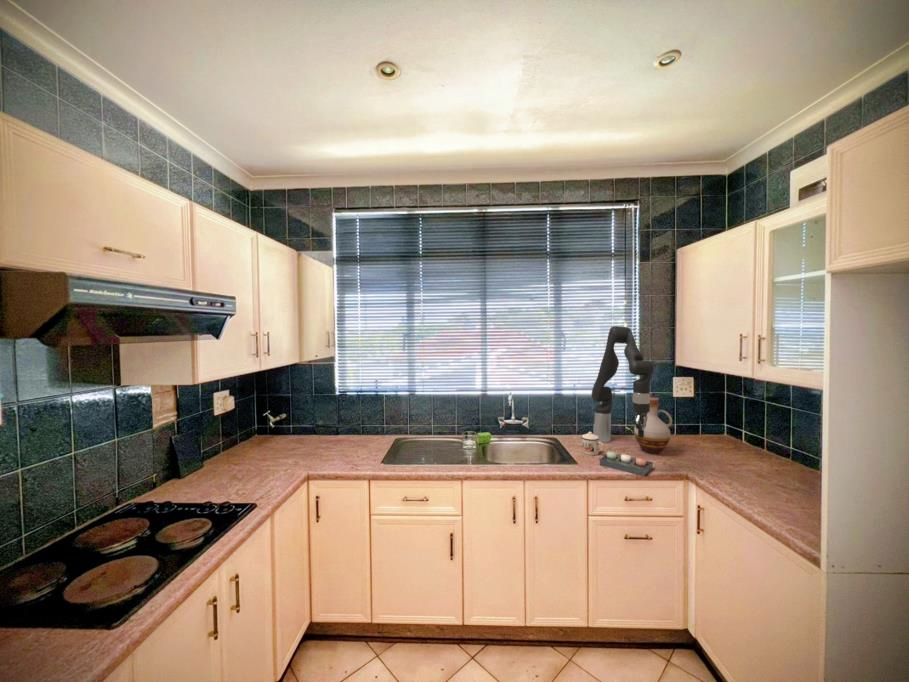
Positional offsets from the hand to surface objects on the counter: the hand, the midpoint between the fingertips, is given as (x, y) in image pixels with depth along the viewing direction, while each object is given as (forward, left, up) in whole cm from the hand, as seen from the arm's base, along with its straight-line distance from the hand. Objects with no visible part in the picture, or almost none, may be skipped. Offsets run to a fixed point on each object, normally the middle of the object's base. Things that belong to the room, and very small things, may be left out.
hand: (641, 436), depth 174 cm
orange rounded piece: (0, 0, -14) cm, 14 cm away
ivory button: (-7, 0, -14) cm, 16 cm away
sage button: (-14, 0, -14) cm, 20 cm away
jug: (-3, +33, -17) cm, 37 cm away
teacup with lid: (-27, +8, -17) cm, 33 cm away
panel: (-7, 0, -16) cm, 18 cm away
